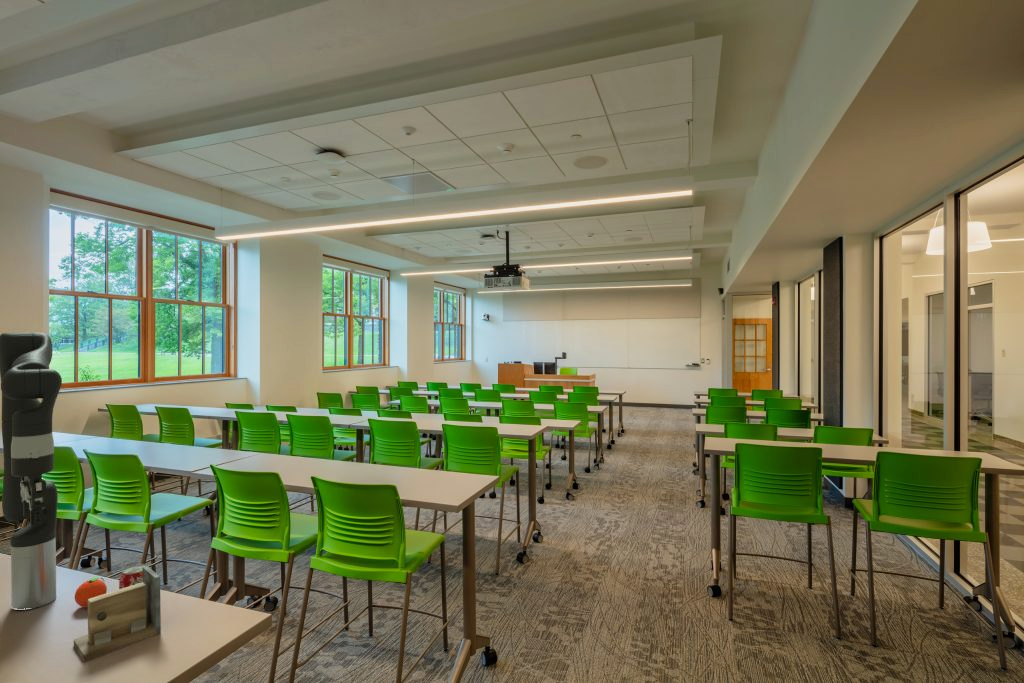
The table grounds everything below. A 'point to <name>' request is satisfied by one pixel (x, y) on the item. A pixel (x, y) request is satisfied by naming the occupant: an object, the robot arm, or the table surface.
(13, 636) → the table surface
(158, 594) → the cabinet base
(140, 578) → the soda can
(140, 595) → the cabinet door
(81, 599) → the clementine
